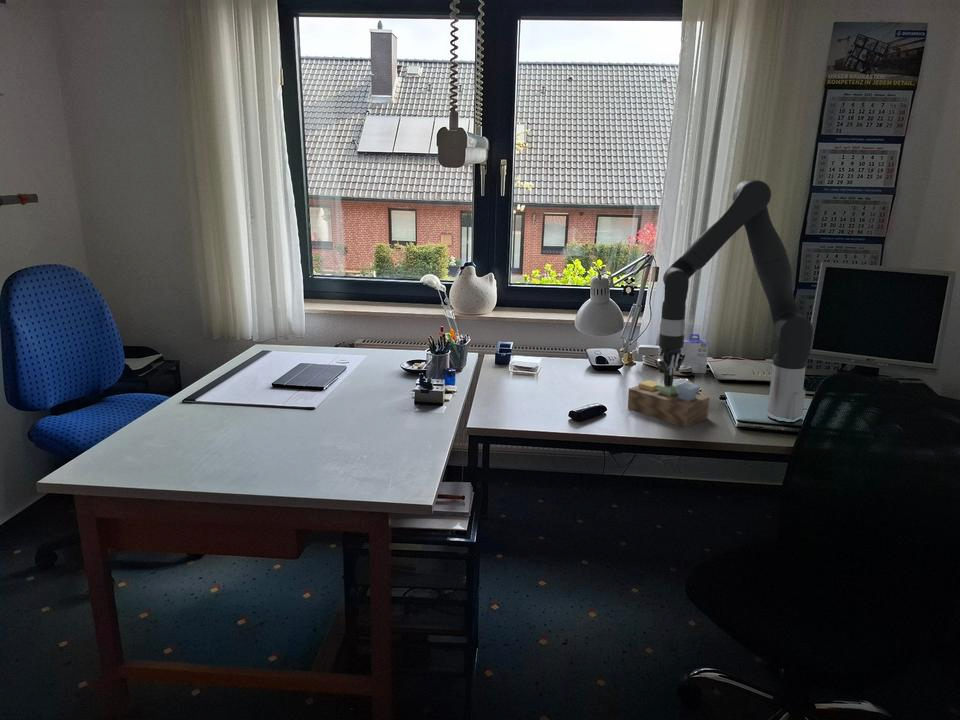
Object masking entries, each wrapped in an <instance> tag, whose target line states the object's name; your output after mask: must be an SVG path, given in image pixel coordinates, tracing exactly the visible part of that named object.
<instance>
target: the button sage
mask: <svg viewBox="0 0 960 720" xmlns="http://www.w3.org/2000/svg"><path fill="white" fill-rule="evenodd" d="M660 383H661V384H658V385H657V390H660V393H661V394H664V395H668V396H671V395H674V394H677V391H675V388H676V386H677V385H678V384H677V383H673V385H671V386H666V385H664V382H660Z"/></svg>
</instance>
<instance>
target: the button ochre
mask: <svg viewBox="0 0 960 720" xmlns="http://www.w3.org/2000/svg"><path fill="white" fill-rule="evenodd" d="M661 383H662V382H658V381H654V380H650V379H648V380H645V381H642V382H639V383H638V386H639V388H642V389H646V390H649V391H654V390H657V385H658V384H661Z"/></svg>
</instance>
